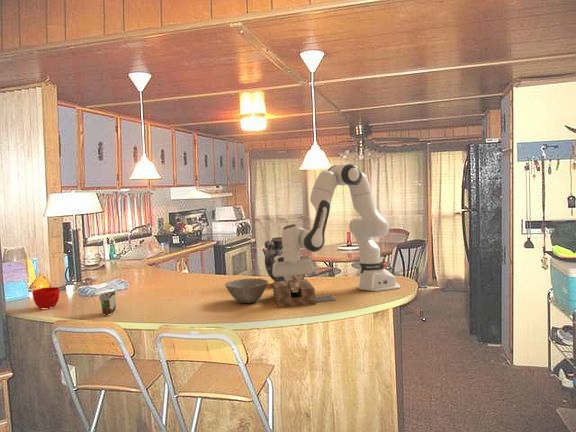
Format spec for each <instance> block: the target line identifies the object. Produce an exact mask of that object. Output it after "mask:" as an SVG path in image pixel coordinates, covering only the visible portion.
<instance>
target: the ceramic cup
mask: <svg viewBox="0 0 576 432" xmlns="http://www.w3.org/2000/svg"><path fill="white" fill-rule="evenodd" d="M59 297H60V288H59V287H57V286H55V287H54V286H51V287H42V288H37V289H33V291H32V298H33V302H34V304H35V305H36V306H37V307H38V308H39V309H40V308H50V307H53V306H54V307H56V305H57V304H58V302H59V299H60V298H59Z"/></svg>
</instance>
